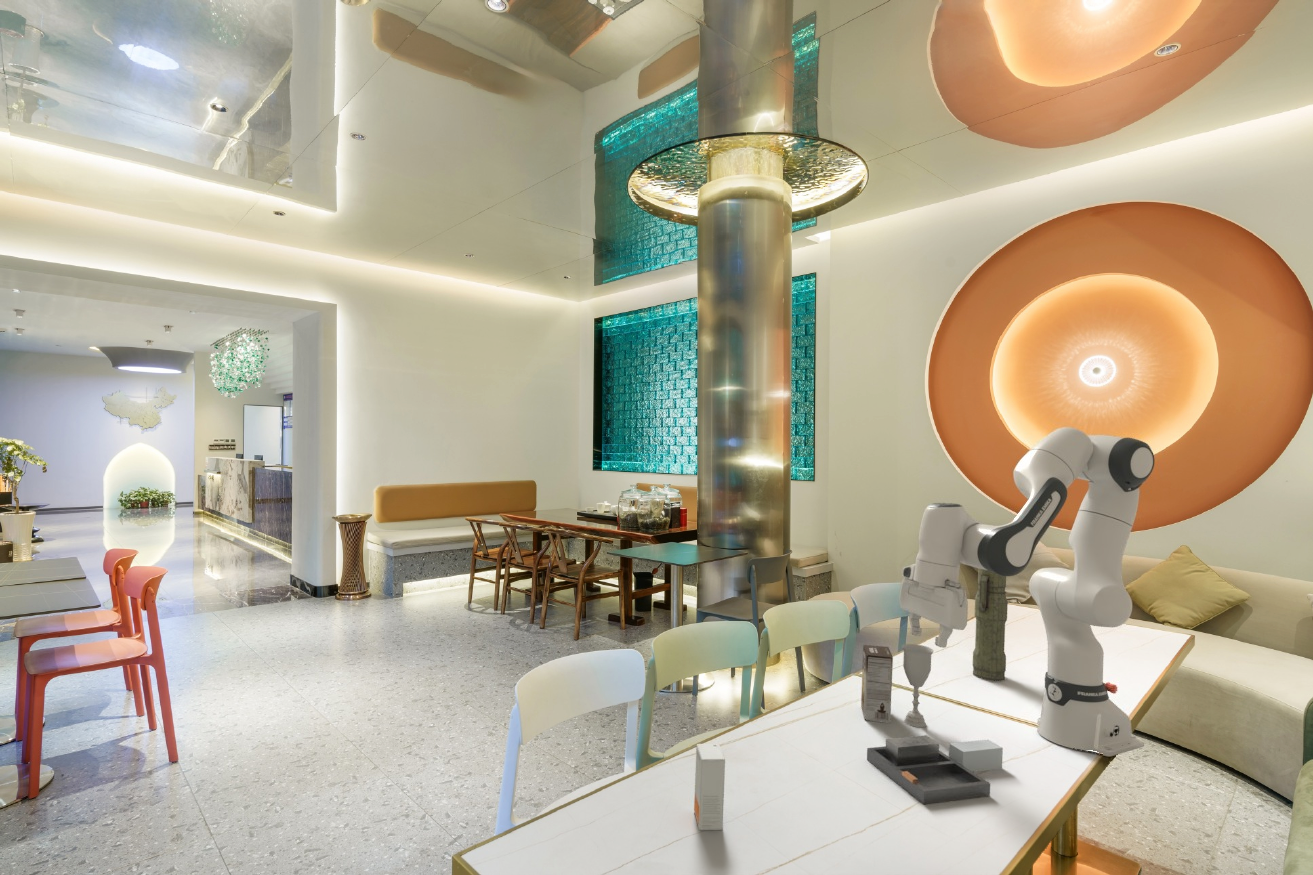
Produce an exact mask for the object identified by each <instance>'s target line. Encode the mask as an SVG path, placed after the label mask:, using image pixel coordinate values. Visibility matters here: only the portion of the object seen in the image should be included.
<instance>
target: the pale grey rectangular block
mask: <svg viewBox="0 0 1313 875" xmlns="http://www.w3.org/2000/svg"><path fill="white" fill-rule="evenodd" d="M948 748H949V749H948V751H949V752H948V756H949V757H950V758H952V759H953V760H955V761H957V762H958V763H960V764H961V765H963V766H964V767H966V768H967V769H969V770H970V771H972V772H973V773H975V772H976V773H977V772H984V771H993V770H1000V769H1001V770H1002V769H1003V750H1004V749H1003V746H1000V745H999V744H997V743H995V742H993V741H992V740H990V739H980V740H979V739H978V740H971V741H970V740H969V741H962V742H961V741H960V742H951V743H949V747H948Z"/></svg>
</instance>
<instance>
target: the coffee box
mask: <svg viewBox="0 0 1313 875" xmlns="http://www.w3.org/2000/svg"><path fill="white" fill-rule="evenodd" d="M862 646H863V647H862V648H863V649H862V667H861V668H862V670H861V673H862V675H861V698H860V699H861V700H860V702H861V703H860V708H861V711H862V715H863V719H866V720H865V721H868V720H870V721H869V722H877V721H882V722H881V723H885V722H887V724H890V723H891V713H892V712H891V711H892V710H891V709H892V705H891V704H892V688H893V687H892V686H893V685H892V684H893V666H894V665H893V664H894V661H893V660H894V657H893V654H892V652H891V649H890V647H889V646H882V645H871V644H870V645H869V644H863V645H862Z"/></svg>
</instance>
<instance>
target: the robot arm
mask: <svg viewBox="0 0 1313 875" xmlns="http://www.w3.org/2000/svg"><path fill="white" fill-rule="evenodd" d="M1154 467H1155V456H1154V453H1153V451H1152V448H1151V446H1150V445H1149V444H1148V443H1146V442H1144V441H1142V440H1139V439H1136V438H1133V437H1122V436H1116V435H1108V434H1107V435H1106V434H1097V435H1096V434H1086V433H1085V432H1083V431H1081V430H1080V429H1078V428H1075V427H1070V426H1064V427H1063V426H1062V427H1059V428H1056V429H1054V430H1053V431H1052V432H1049V434H1047V435H1046V436H1044V437H1043V438H1042V439H1041V440H1039V441H1038V442H1037V443H1036V444H1034V445H1033V446H1032V447H1031V448H1030V449H1029V450H1028V451H1027V452H1026V453H1025V455H1023V456H1022V457H1021V459H1019V461H1018V463H1017V464H1016V465H1015V467H1014V469H1013V476H1012V477H1013V481H1014V484H1015V486H1016V488H1017V489H1018V491H1019V492H1020V493H1021V494H1022V495H1023V496H1024V497H1025V499H1027V501H1026V503H1025V504H1024V505H1023V507H1022V508H1021V509H1020V511H1018V513H1017V515H1016V516H1015V517H1014V519H1013V520H1012V521H1010V522H1009V523H1005V524H1002V525H991V524H985V523H981V522H980V521H978V520H977V519H975V518H973V517H972V516H971V515H970V514H969V513H968V512H967V511H966V510H965V508H964V506H963V505H962V504H959V503H953V502H947V503H946V502H935V503H931V504H929V505H927V506H926V508H925V509H924V511H923V514H922V518H921V522H920V527H919V534H918V544H919V546H918V547H919V548H918V553H917V555H916V557H915V563H912V564H911V565H908V566H904V567H902V569H901V577H903V579H902V580H901V585H900V590H899V598H898V599H899V600H898V602H899V607H900V609H901V610H904V612H908V621H909V624H910V631H909V632H910V634H911V635H913V636H917V637H920V636H921V635H922V630H923V628H922V627H921V624H920V620H921V619H922V618H923V619H926V620H928V621H931V622H933V623H936V624H938V625H939V631H940V632H939V634H938V636H935V639H934V640H935V641H934V645H935V646H937V647H939V648H947V645H948V640H949V638H951V635H952V634H953V632H954V630H958V631H960V630H961V631H963V630H965V629H966V628H967V625H968V618H969V616H968V615H969V614H968V613H969V611H968V610H969V609H968V608H969V606H968V605H969V602H968V596H967V591H966V590H965V588H964V586H963V584H962V583H960V582H959V576H960V569H961V568H960V566H961V565H960V564H962V565H966V566H970V567H973V568H977V569H978V568H980V569H984V570H988V571H991V572H993V573H996V574H999V575H1002V576H1006V577H1014V576H1017V575H1018V574H1020V573H1022V572H1023V571H1024V570H1025V569H1026V568H1027V566H1028V565H1029V564H1030V562H1031V560H1032V557H1033V554H1034V552H1035V549H1036V547H1037V545H1038V544H1039V542H1040V541H1041V539H1042V538H1043V536H1044V535H1045V533H1046V532H1047V530H1049V527H1050V526H1051V525H1052V523H1053V522H1054V521H1055V519H1056V518H1057V517H1058V515H1059V513H1060V512H1061V510H1062V508H1063V507H1064V505H1065V503H1066V501H1067V498H1068V488H1069V487H1070V486H1071V485H1072V484H1073V483H1074V481H1075V480H1076V479H1078V480H1083V481H1087V482H1088V490H1087V492H1086V493H1085V495H1084V497H1083V499H1082V502H1081V503H1080V506H1079V509H1078V511H1077V514H1076V517H1075V519H1074V521H1073V522H1074V523H1073V525H1072V528H1071V529H1070V533H1069V536H1068V540H1067V541H1068V545H1069V547H1070V549H1071V550H1072V551H1073V554H1074V567H1073V570H1072V569H1068V568H1065V567H1057V566H1056V567H1042V568H1039V569H1037V570H1036V571H1035V572H1034V573H1033V574H1032V575H1031V578H1030V579H1029V583H1028V591H1029V594H1030V596H1031V598H1032V599H1033V601H1034V602H1035V603H1036V605H1037V607H1038V609H1039V611H1040V615H1041V618H1042V621H1043V624H1044V629H1045V633H1046V640H1047V671H1046V672H1045V676H1044V690H1045V691H1044V693H1043V699H1042V704H1041V712H1040V717H1039V718H1038V719H1037V724H1038V726H1037V732H1038V734H1039V735H1040V736H1042V738H1044V739H1046V740H1048V741H1050V742H1052V743H1054V744H1057V745H1060V746H1063V747H1066V748H1069V749H1073V748H1075V749H1074V750H1077V749H1082V750H1093V751H1097V752H1099V753H1103V755H1102V756H1105V757H1113V756H1117V755H1120V754H1123V753H1127V752H1130V751H1133V750H1137V749H1141V748H1143V747H1145V741H1144V740H1142V739H1141V738H1140V737H1138V736H1136V735H1135V734H1133V731H1132V722H1131V719H1130V717H1129V715H1128V714H1127V713H1126V712H1124V710H1122V709H1121V708H1120V707H1119V706H1118V705H1116V703H1115V702H1113V701H1112V700H1111V699H1110V697H1109V694H1108V692H1110V693H1111V694H1113V695H1114V694H1117V692H1118V688H1119V687H1118V686H1117V685H1116V684H1113V683H1110V682H1106V683H1105V682H1104V657H1105V656H1104V654H1105V653H1104V649H1103V647H1102V644H1101V642H1099V640H1098V639H1097V638H1096V636H1095V634H1094V632H1093V629H1092V627H1091V626H1093V627H1101V628H1102V627H1103V628H1118V627H1121V626H1122V625H1124V624H1125V623H1126V622H1128V620H1129V618H1130V617H1131V614H1132V613H1133V612H1132V611H1133V600H1132V598H1131V596H1130V594H1129V592H1128V590H1126V587H1125V585H1124V581H1123V573H1122V572H1123V571H1122V566H1123V565H1122V564H1123V557H1124V553H1125V549H1126V546H1127V543H1128V540H1129V538H1130V535H1131V533H1132V532H1131V531H1132V529H1133V526H1134V524H1135V523H1134V522H1135V519H1136V517H1137V514H1138V513H1137V512H1138V506H1139V500H1140V487H1141V486H1142V485H1143V483H1145V482H1146V481H1147V480H1148V479H1149V477H1150V476H1151V474H1152V472H1153V471H1154ZM1122 745H1123V746H1122ZM1082 750H1081V751H1082Z"/></svg>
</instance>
